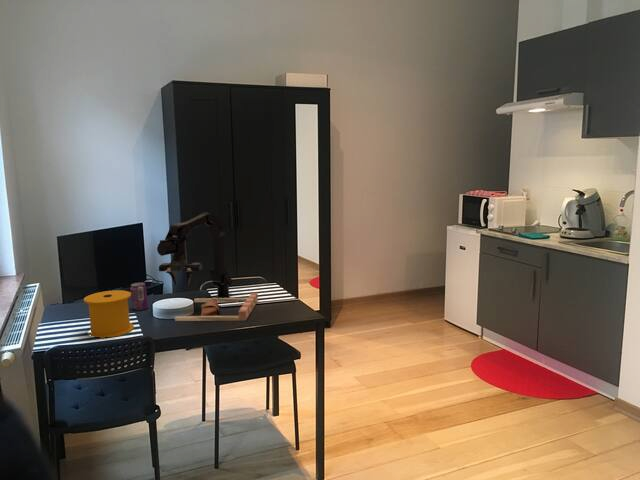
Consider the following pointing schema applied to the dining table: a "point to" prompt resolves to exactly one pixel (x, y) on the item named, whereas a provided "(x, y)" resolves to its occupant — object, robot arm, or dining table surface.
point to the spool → (109, 313)
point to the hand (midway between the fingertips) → (181, 285)
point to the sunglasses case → (210, 308)
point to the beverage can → (138, 296)
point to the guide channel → (242, 316)
